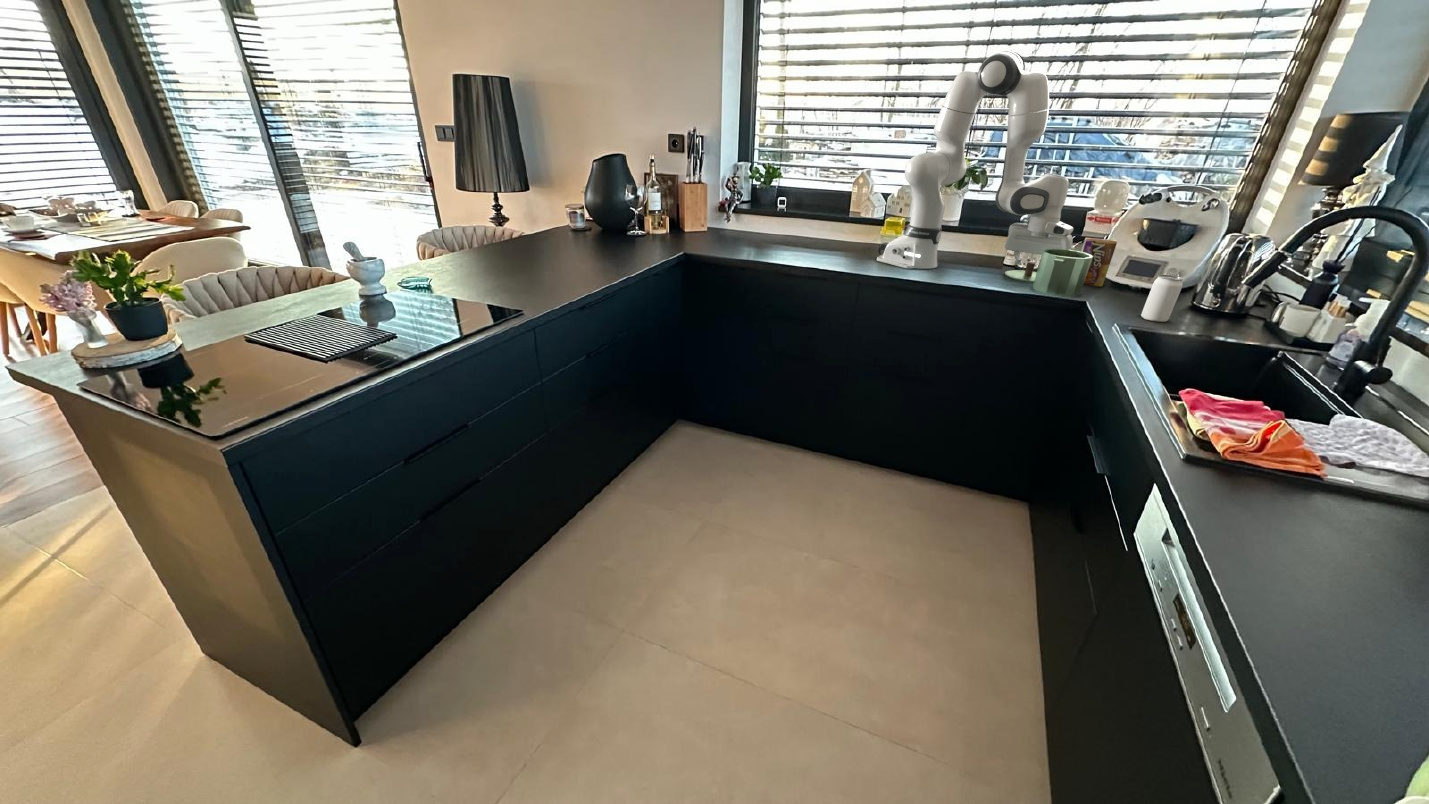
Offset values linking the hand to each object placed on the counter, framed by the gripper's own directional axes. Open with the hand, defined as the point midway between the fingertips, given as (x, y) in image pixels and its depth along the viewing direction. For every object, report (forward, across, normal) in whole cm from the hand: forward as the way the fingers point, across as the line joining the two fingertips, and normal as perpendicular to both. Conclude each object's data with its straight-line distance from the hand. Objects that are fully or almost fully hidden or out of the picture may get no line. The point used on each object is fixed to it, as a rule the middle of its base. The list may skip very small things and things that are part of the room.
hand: (1031, 266), depth 193 cm
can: (+5, +40, -18) cm, 44 cm away
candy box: (+5, +16, +8) cm, 19 cm away
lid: (+4, -1, 0) cm, 4 cm away
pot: (+5, +12, -10) cm, 16 cm away
